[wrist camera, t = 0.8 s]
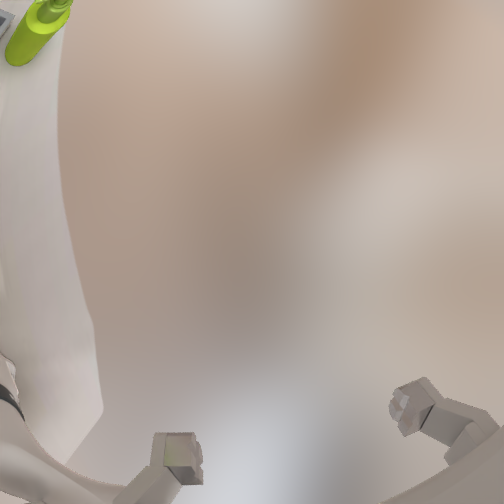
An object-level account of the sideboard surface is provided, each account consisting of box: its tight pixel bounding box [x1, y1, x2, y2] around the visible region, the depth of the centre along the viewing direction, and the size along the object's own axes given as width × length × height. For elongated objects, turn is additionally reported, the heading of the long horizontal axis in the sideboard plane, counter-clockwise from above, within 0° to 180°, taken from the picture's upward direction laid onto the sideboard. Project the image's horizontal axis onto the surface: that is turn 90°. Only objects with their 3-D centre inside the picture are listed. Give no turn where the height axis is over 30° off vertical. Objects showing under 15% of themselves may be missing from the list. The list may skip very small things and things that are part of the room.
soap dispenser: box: [5, 0, 73, 66], centre depth 15 cm, size 6×7×20 cm
